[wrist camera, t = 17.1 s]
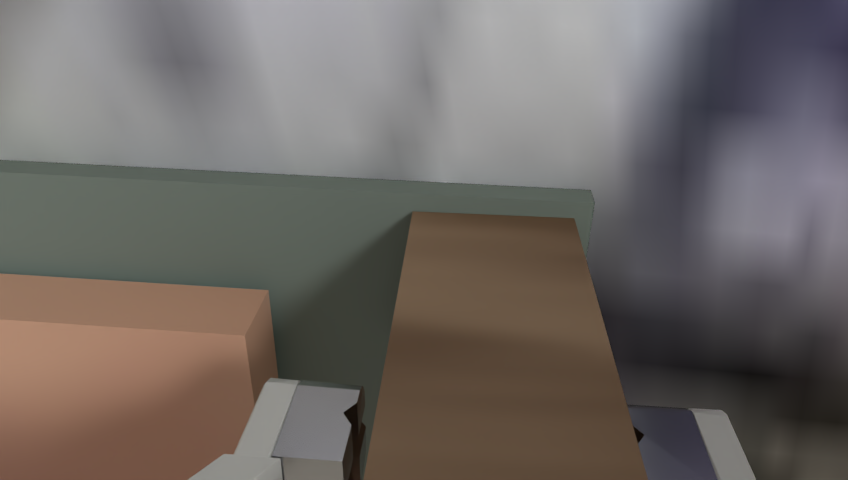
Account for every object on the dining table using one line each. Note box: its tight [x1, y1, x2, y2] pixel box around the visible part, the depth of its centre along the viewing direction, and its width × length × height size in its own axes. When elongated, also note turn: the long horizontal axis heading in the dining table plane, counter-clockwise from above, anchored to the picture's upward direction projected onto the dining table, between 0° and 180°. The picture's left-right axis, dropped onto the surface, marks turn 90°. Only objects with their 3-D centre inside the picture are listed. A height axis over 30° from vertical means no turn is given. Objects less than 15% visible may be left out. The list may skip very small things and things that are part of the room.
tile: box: [0, 273, 278, 480], centre depth 16 cm, size 2×7×9 cm
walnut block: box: [363, 211, 648, 480], centre depth 11 cm, size 3×3×8 cm
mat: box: [0, 160, 595, 480], centre depth 17 cm, size 18×12×1 cm, turn 89°
